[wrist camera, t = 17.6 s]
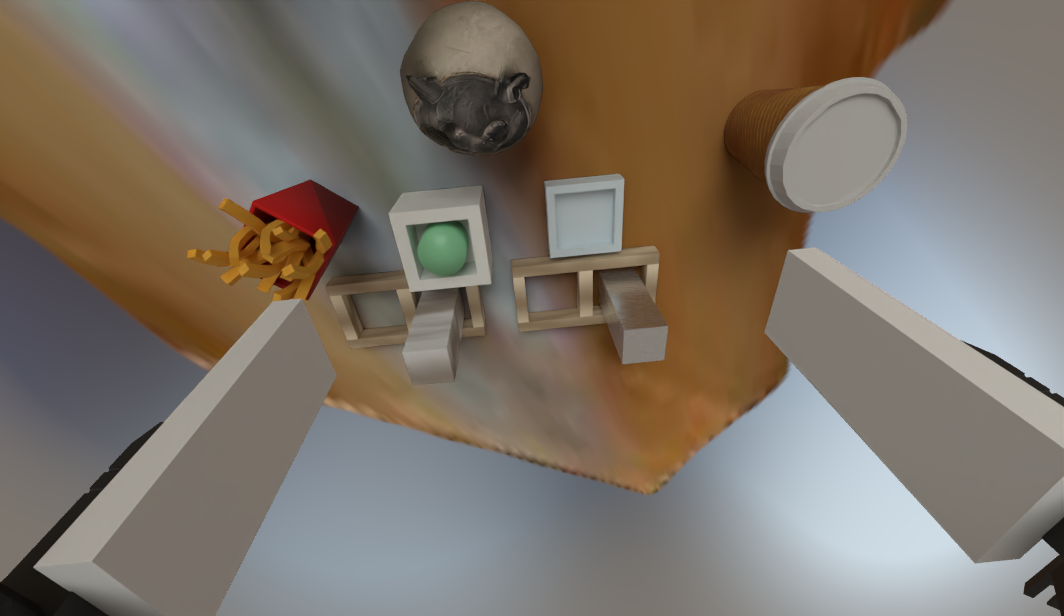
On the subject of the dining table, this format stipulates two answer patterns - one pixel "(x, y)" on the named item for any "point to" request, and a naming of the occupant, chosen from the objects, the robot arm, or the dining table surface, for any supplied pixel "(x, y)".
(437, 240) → the button
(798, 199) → the disposable coffee cup
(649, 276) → the pallet
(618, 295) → the block
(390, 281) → the pallet
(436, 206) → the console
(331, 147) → the dining table surface
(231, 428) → the robot arm
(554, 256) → the tote
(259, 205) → the french fries
